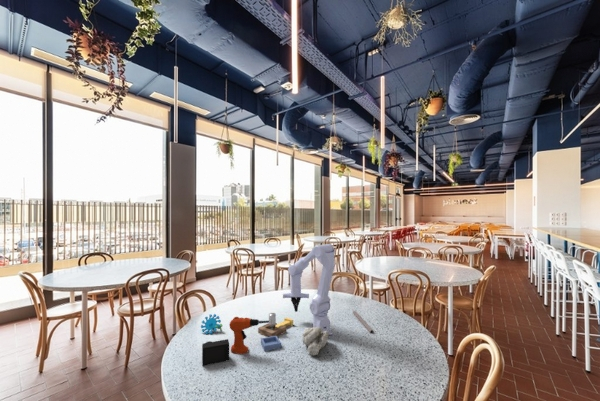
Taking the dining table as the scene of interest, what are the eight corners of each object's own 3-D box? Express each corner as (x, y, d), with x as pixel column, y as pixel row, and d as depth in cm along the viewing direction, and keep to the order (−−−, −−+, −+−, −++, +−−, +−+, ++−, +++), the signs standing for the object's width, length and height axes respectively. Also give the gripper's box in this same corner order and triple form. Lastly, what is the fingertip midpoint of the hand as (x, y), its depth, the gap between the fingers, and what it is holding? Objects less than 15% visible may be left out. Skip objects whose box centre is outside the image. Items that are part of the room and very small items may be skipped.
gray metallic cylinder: (276, 333, 133) (276, 314, 133) (269, 334, 132) (269, 315, 132) (274, 330, 136) (274, 312, 137) (268, 331, 135) (268, 313, 135)
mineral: (335, 335, 125) (324, 315, 127) (330, 352, 108) (318, 328, 110) (312, 346, 126) (302, 326, 128) (304, 364, 110) (293, 341, 112)
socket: (292, 328, 138) (292, 323, 138) (272, 338, 127) (272, 333, 127) (279, 323, 145) (279, 318, 145) (258, 332, 133) (258, 327, 133)
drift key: (293, 325, 142) (293, 319, 142) (279, 331, 134) (279, 326, 134) (286, 322, 146) (286, 317, 146) (272, 328, 138) (272, 323, 138)
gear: (196, 330, 133) (206, 311, 140) (200, 335, 137) (210, 316, 144) (216, 335, 130) (225, 316, 137) (219, 340, 134) (228, 321, 141)
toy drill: (270, 353, 111) (266, 316, 112) (229, 355, 114) (225, 319, 115) (274, 347, 116) (269, 312, 117) (234, 349, 119) (230, 315, 120)
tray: (281, 347, 118) (281, 342, 118) (264, 351, 115) (264, 345, 116) (276, 340, 125) (276, 335, 125) (260, 343, 123) (260, 338, 123)
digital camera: (227, 354, 113) (228, 337, 114) (229, 360, 108) (229, 343, 109) (202, 359, 110) (202, 341, 110) (202, 366, 105) (202, 348, 105)
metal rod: (370, 334, 131) (370, 330, 132) (352, 314, 158) (352, 310, 158) (373, 334, 132) (373, 329, 132) (355, 313, 159) (355, 310, 159)
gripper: (309, 284, 152) (309, 308, 152) (284, 284, 154) (284, 308, 153) (308, 287, 145) (308, 313, 145) (282, 287, 146) (282, 312, 146)
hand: (296, 311), depth 148 cm, fingers closed
